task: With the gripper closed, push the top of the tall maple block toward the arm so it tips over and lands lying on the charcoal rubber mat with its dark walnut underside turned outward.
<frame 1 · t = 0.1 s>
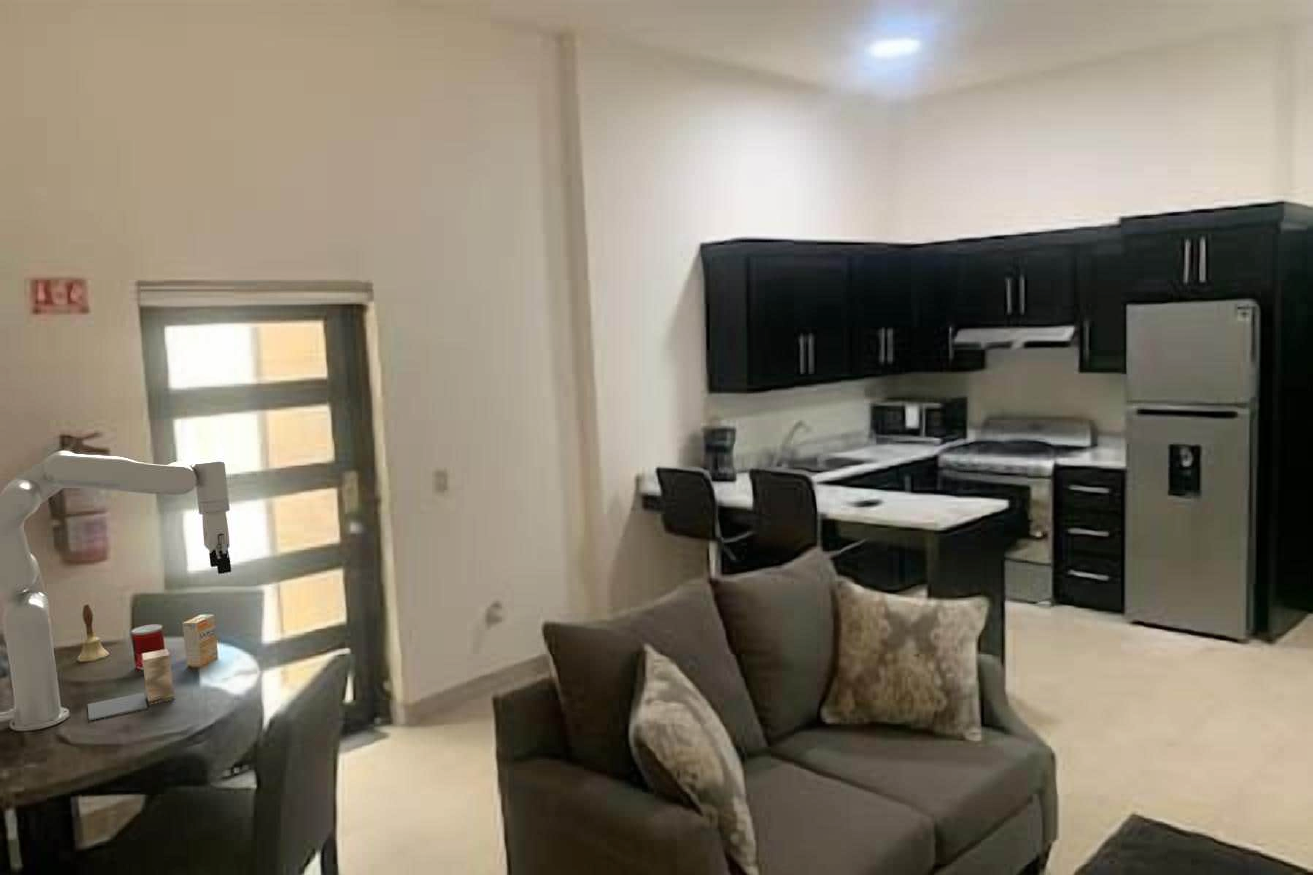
hand: (220, 569, 272), 31 cm above the table, tool pointing down, fingers open, 9 cm apart
supplement box: (203, 663, 293), on the table
hand bell: (93, 657, 303), on the table
maple block: (160, 698, 266), on the table
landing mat: (117, 707, 261), on the table
canned food: (151, 666, 293), on the table
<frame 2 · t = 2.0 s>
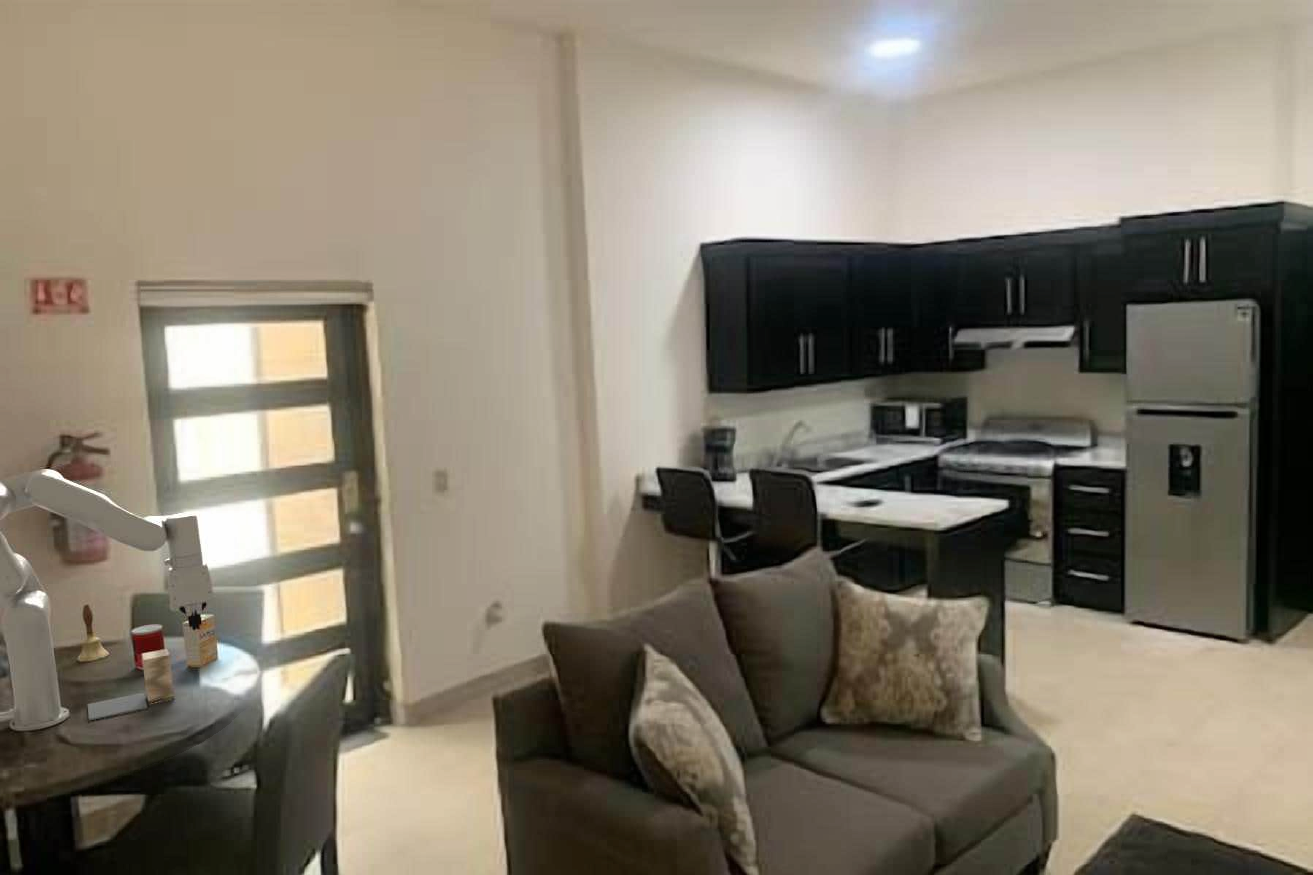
hand: (195, 628, 269), 17 cm above the table, tool pointing down, fingers closed
nothing on the table moved.
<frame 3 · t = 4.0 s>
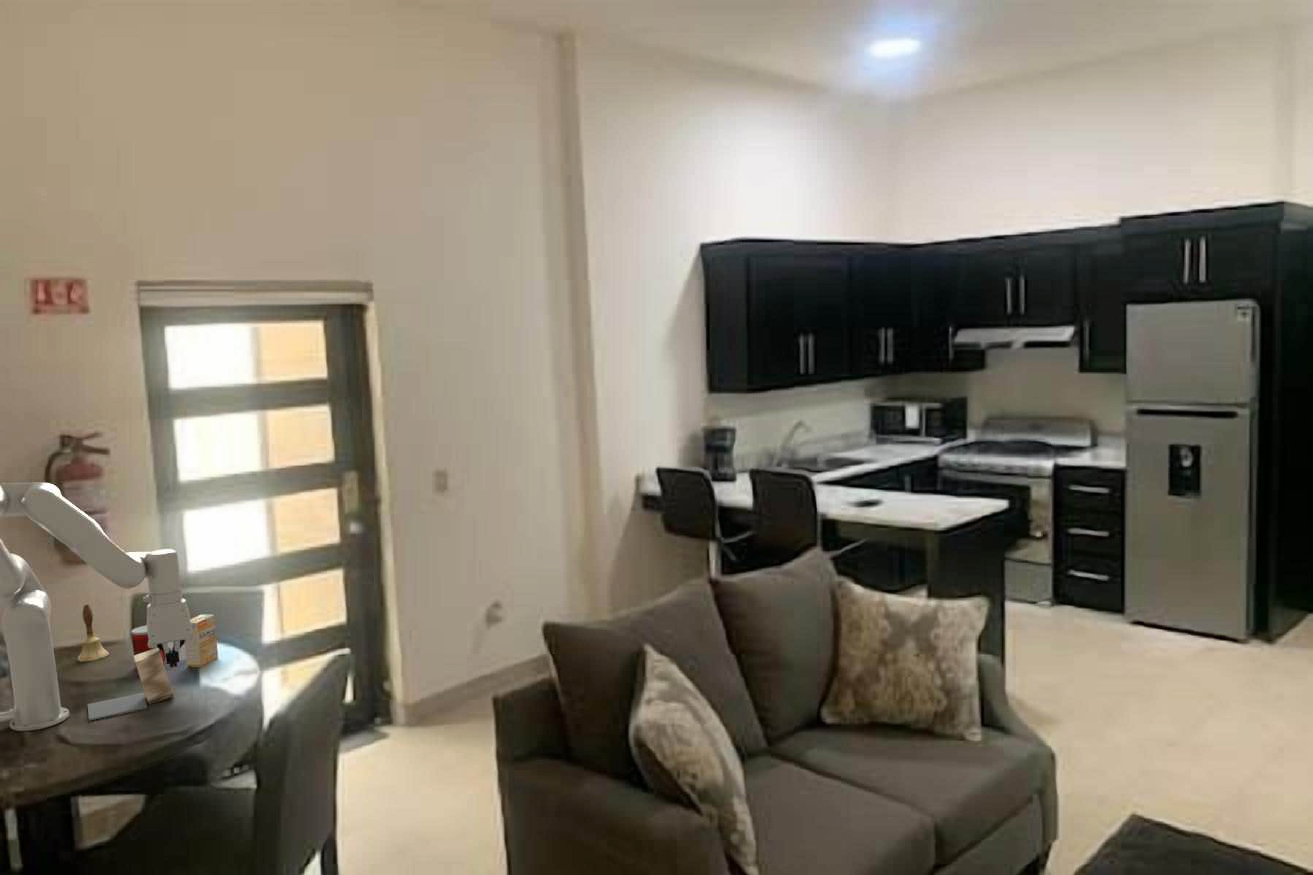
hand: (173, 665, 267), 8 cm above the table, tool pointing down, fingers closed
maple block: (160, 696, 266), on the table, tilted 9°
everything else where it was.
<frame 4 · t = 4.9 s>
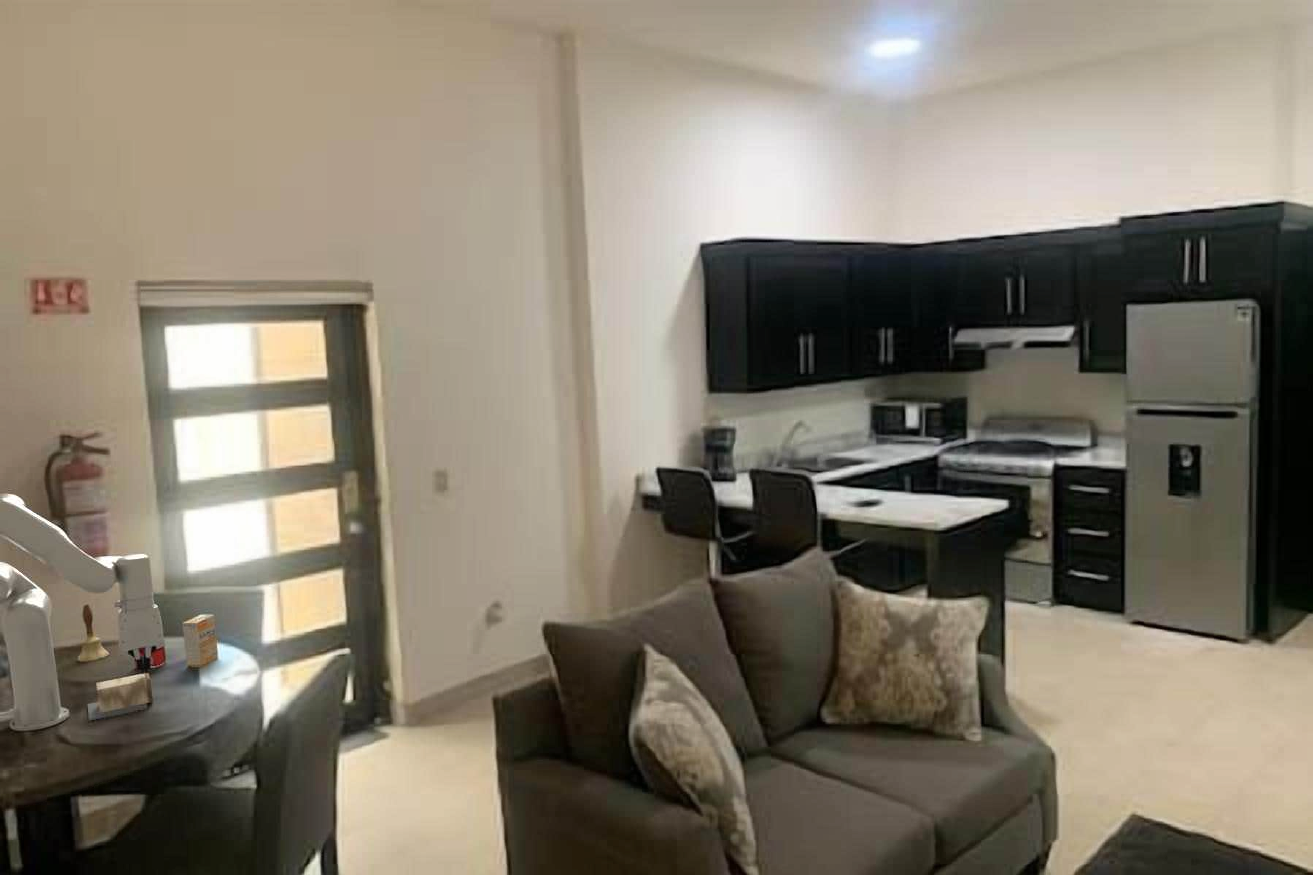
hand: (144, 672, 263), 8 cm above the table, tool pointing down, fingers closed
maple block: (150, 686, 265), point 4 cm above the table, tilted 90°, touching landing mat
everything else where it was.
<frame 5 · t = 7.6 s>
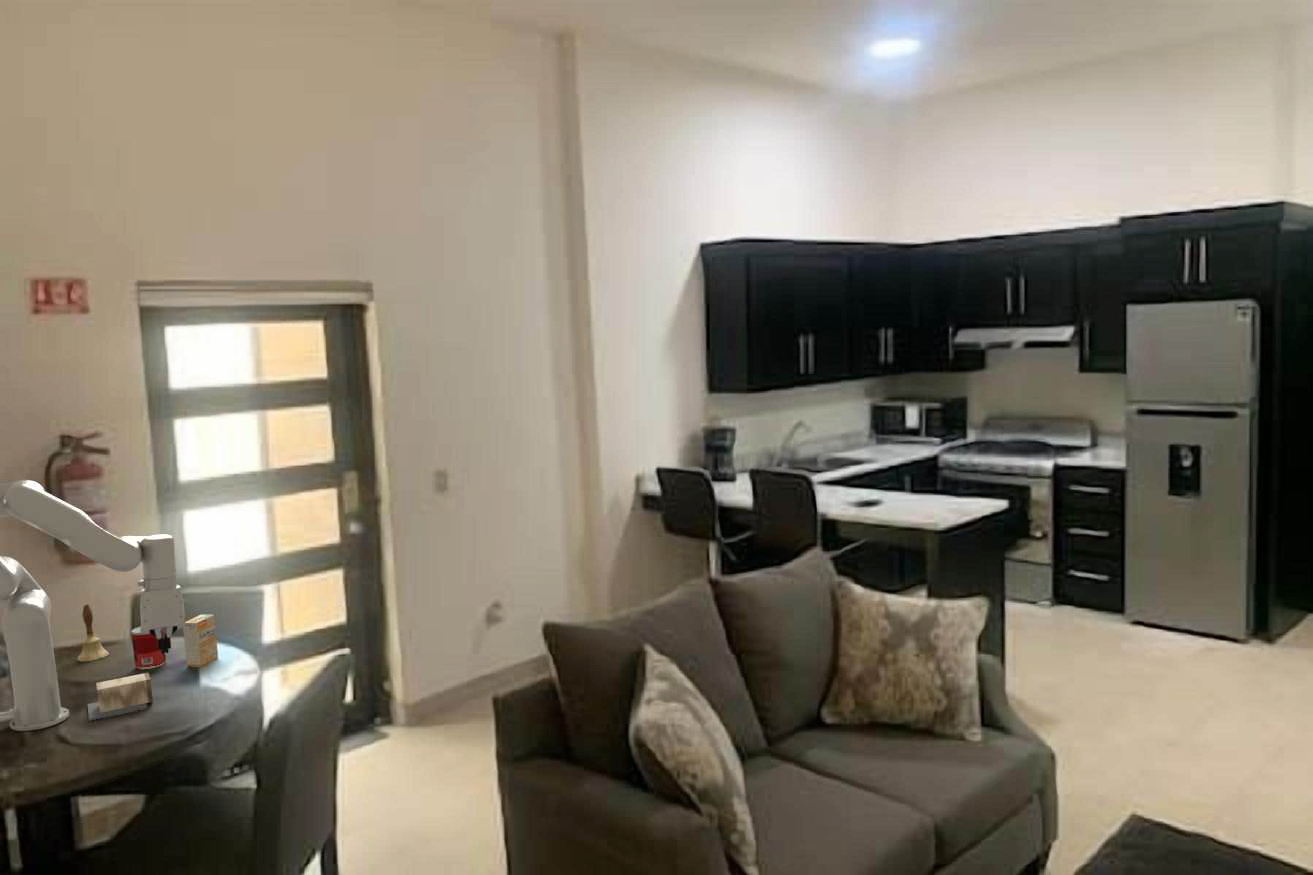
hand: (164, 651, 266), 12 cm above the table, tool pointing down, fingers closed
nothing on the table moved.
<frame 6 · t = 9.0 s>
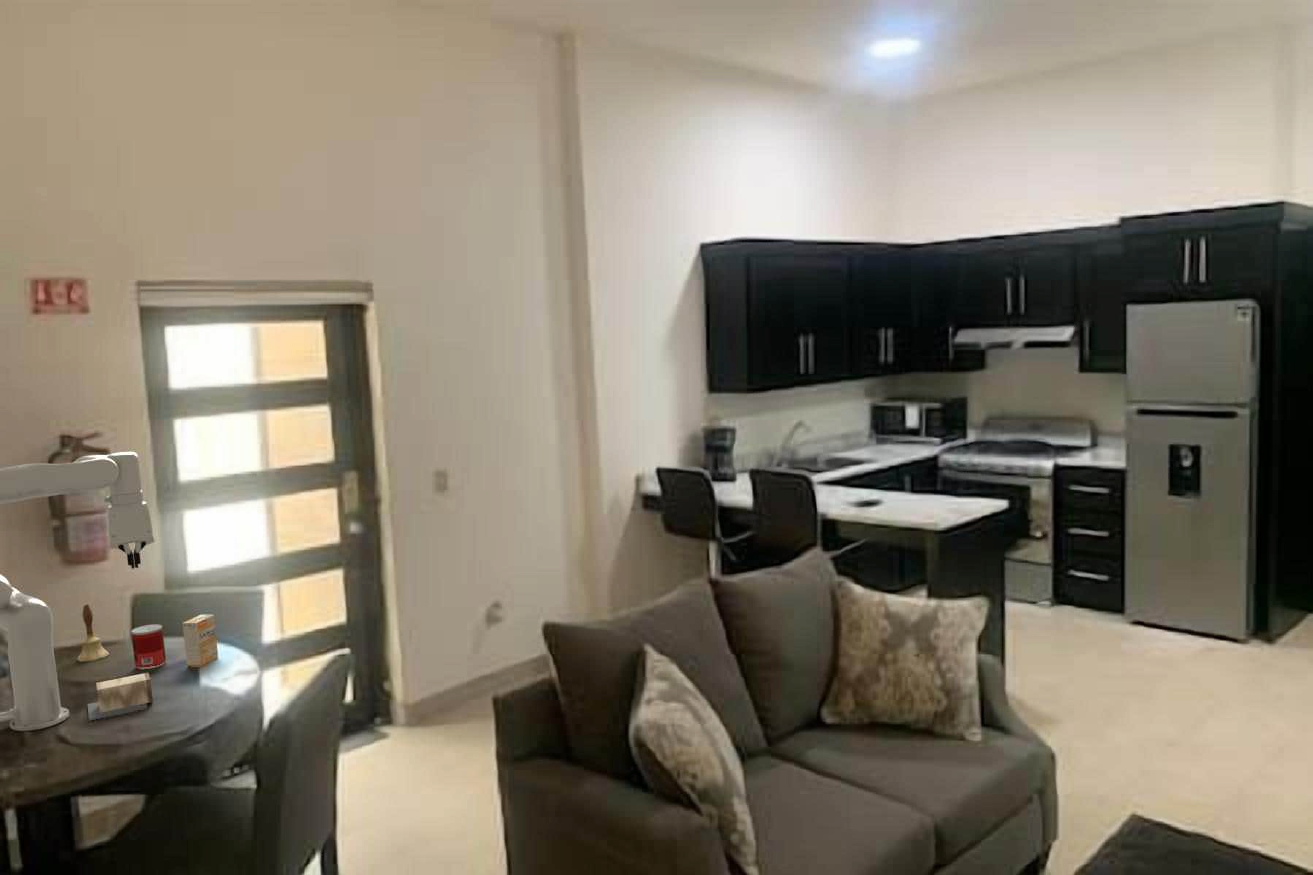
hand: (134, 567, 271), 33 cm above the table, tool pointing down, fingers closed
nothing on the table moved.
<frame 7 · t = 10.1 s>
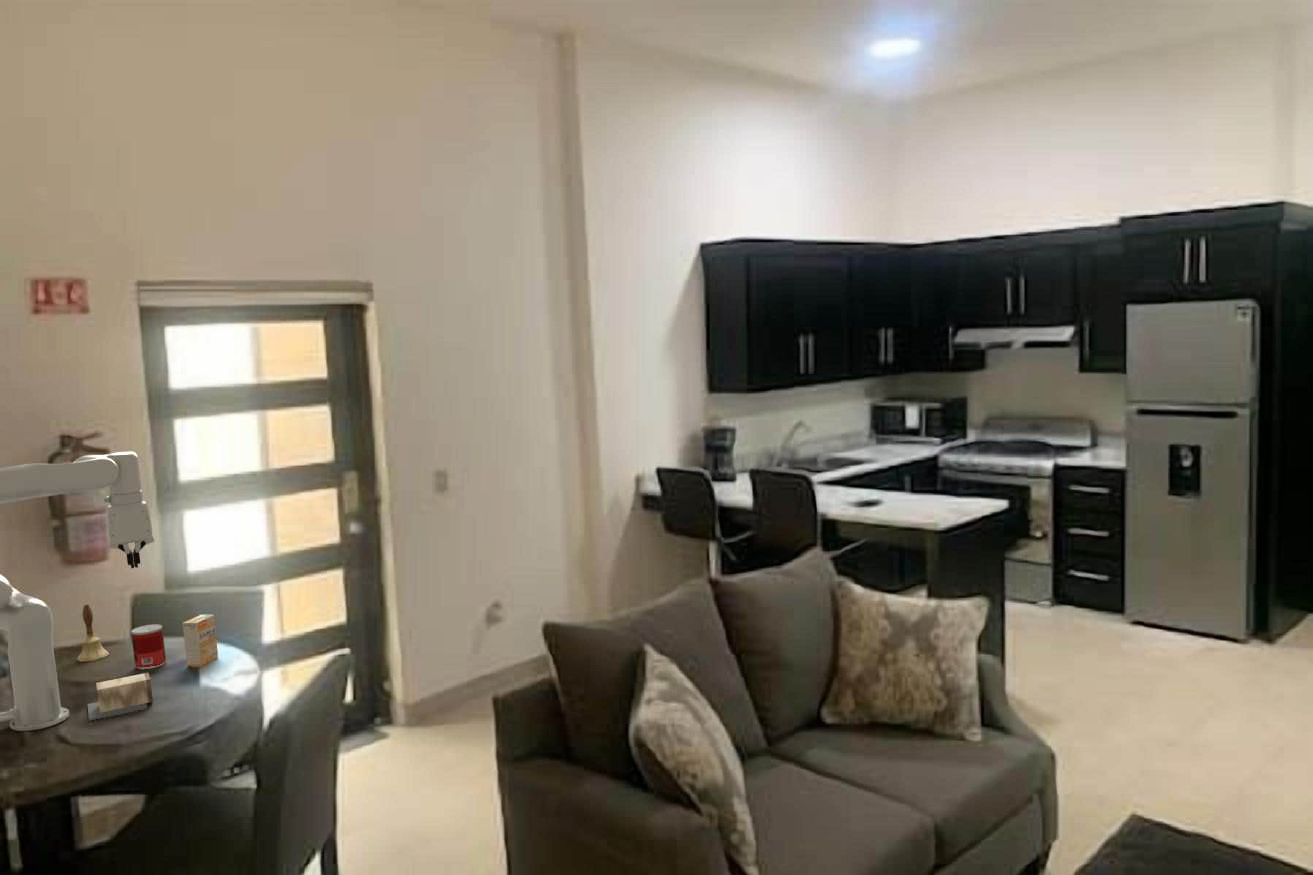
hand: (134, 566, 271), 33 cm above the table, tool pointing down, fingers closed
nothing on the table moved.
at the end: maple block tilted 90°; maple block touching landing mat; maple block inside the target area (1.0 cm from its centre), point 3.6 cm above the table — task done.
